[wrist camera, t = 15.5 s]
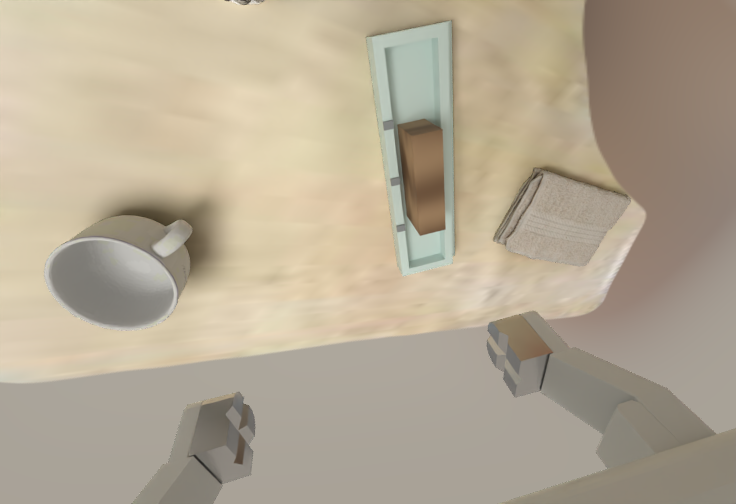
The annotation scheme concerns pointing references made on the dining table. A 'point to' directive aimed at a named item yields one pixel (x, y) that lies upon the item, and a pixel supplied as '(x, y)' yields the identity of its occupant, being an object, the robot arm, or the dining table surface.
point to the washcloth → (559, 219)
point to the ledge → (406, 104)
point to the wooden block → (423, 174)
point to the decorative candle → (246, 2)
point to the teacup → (121, 272)
